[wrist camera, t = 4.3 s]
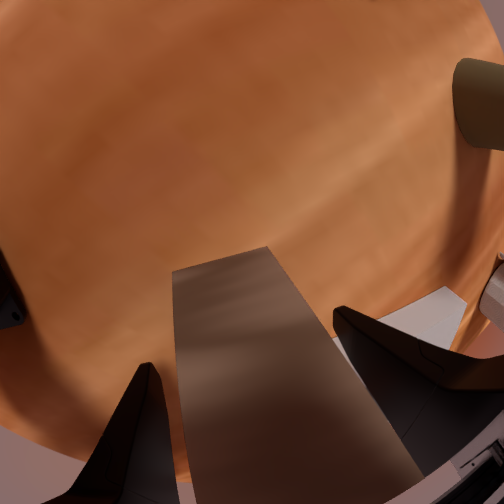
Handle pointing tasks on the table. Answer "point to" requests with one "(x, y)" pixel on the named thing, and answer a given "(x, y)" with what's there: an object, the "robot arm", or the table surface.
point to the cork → (480, 102)
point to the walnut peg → (274, 395)
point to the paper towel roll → (494, 298)
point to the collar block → (425, 320)
